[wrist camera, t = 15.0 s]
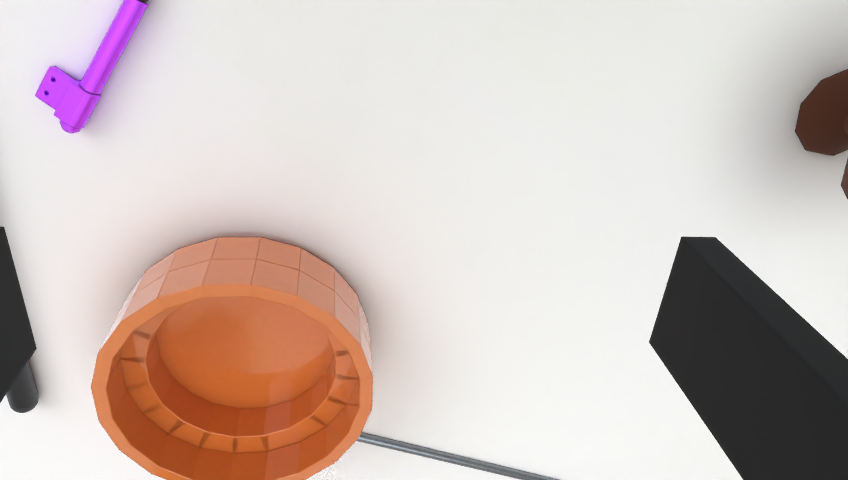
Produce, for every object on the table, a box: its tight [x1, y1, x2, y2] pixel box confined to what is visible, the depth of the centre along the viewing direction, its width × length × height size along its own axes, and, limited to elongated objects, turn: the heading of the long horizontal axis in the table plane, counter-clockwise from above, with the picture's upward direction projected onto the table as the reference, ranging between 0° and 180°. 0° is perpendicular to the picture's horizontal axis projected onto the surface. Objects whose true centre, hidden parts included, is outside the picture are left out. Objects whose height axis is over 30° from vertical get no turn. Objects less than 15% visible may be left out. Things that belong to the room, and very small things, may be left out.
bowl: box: [91, 237, 373, 480], centre depth 39 cm, size 16×16×6 cm
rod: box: [356, 432, 558, 480], centre depth 50 cm, size 1×19×1 cm, turn 65°
